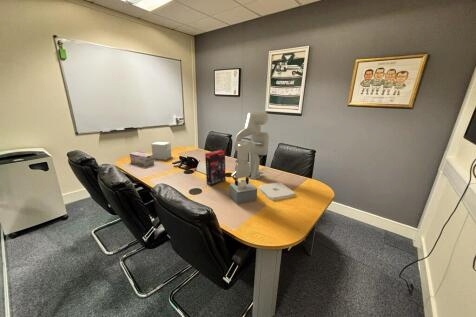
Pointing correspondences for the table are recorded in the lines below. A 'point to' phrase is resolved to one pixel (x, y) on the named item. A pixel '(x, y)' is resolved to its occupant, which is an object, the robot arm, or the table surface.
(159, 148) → the supplement box
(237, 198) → the carton
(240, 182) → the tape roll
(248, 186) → the lid
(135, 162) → the surgical sutures box
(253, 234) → the table surface
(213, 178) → the graphics card box
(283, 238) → the table surface
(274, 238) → the table surface
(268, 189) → the computer
